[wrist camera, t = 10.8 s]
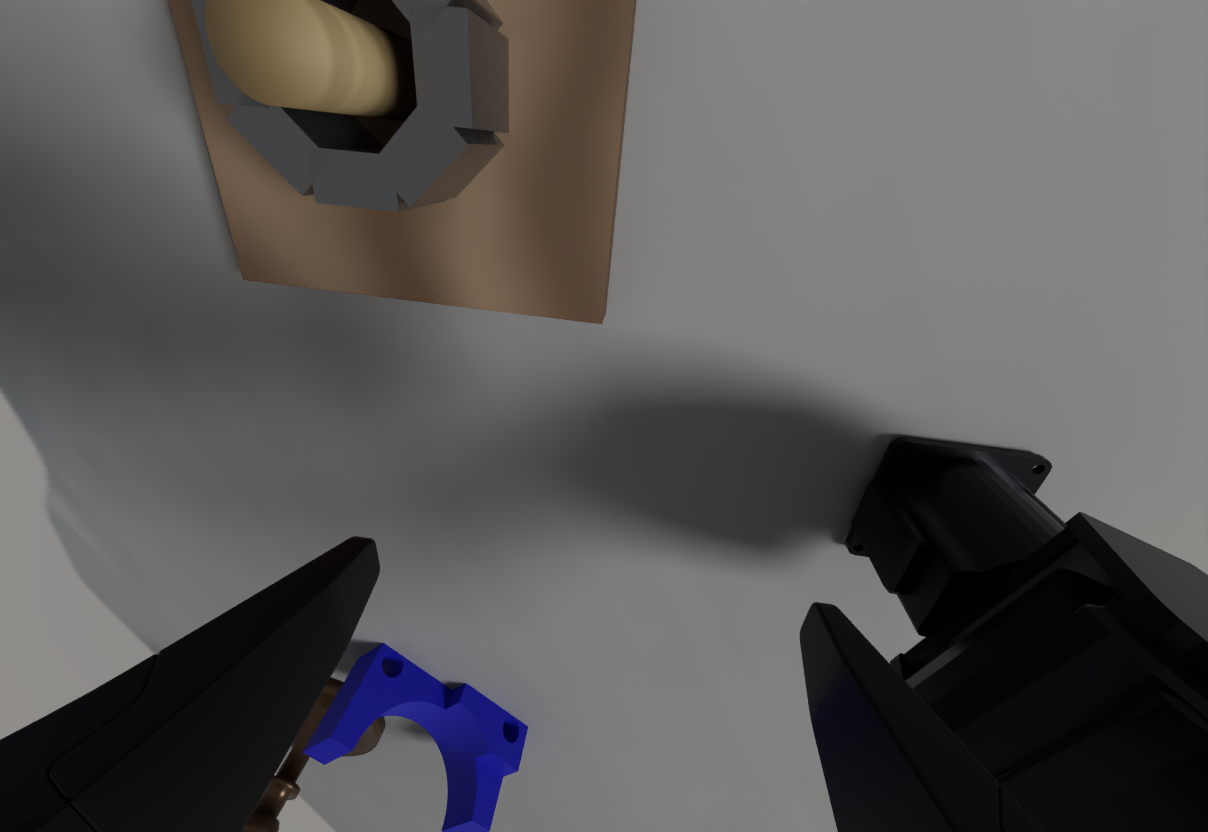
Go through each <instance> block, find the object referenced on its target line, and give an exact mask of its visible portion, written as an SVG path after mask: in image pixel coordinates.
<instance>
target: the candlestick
mask: <svg viewBox="0 0 1208 832" xmlns="http://www.w3.org/2000/svg"><path fill="white" fill-rule="evenodd" d="M342 685H343V682H341V681H338V680H335V679H333V678H329V680H328V682H327V684H326V685H325V687H324V689H323V691H322V692H321V694H320V696H319V697H318V699H317V701H316V703H315V704H314V706H313V708H312V710H311V711H310V713H309V715H308V717H307V718H306V720H305V722H304V724H303V725H302V727H301V729H300V731H299V732H298V734H297V736H296V738H295V739H294V741H293V743H292V750H291V751H290V753H289V755H288V756H287V758H286V760H285V761H284V763H283V764H282V766H281V768H280V769H279V771H278V773H277V774H276V776H275V775H274V776H273V778H272V780H271V781H270V783H269V785H268V787H267V788H266V790H265V792H264V794H263V795H262V797H261V799H260V801H259V802H258V804H257V806H256V808H255V809H254V811H253V813H252V814H251V816H250V818H249V820H248V821H247V823H246V825H245V827H244V828H243V830H242V832H278V830H279V821H278V820H277V819H276V818H277V816H278V815H279V813H280V811H281V810H282V808H283V806H284V804H285V802H286V801H287V800H293V799H295V798H296V797H297V795H298V794H299V792H300V788H299V786H298V785H297V784H296V783H295V782H296V781H297V779H298V777H299V775H300V774H301V772H302V770H303V768H304V767H305V765H306V763H307V761H308V760H309V758H310V756H308V755H306V754H305V753H303V751H304V749H305V747H306V746H307V744H308V742H309V741H310V739H311V737H312V736H313V734H314V732H315V731H316V729H317V727H318V726H319V724H320V722H321V720H322V719H323V717H324V715H325V714H326V712H327V710H328V709H329V707H330V705H331V704H332V702H333V700H334V698H335V697H336V695H337V693H338V692H339V690H340V688H341V687H342ZM384 729H385V720H384V716H382V717H378V718H377V719H376V720H375V721H374V722H373V723H372V724H371V725H370V726H369V727H368V728H367V730H366V731H365V732H364V733H363V735H362V736H361V738H360V739H359V741H358V742H357V744H356V746H355V747H354V749H353V751H351V752H349V753H347V754H345V755H343V756H357V755H362V754H365V753H367V752H369V751H371V750H372V749H374V748H375V747H376V745H377V743H378V742H379V740H380V737H381V735H382V733H383V731H384Z"/></svg>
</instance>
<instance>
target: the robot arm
mask: <svg viewBox="0 0 1208 832" xmlns="http://www.w3.org/2000/svg"><path fill="white" fill-rule="evenodd" d="M903 447H907V448H906V449H905V450H904V451H902V452H898V451H899V450H900V449H901V448H903ZM1036 465H1037V466H1036ZM1034 466H1036V467H1035V468H1033V467H1034ZM1032 468H1033V469H1032ZM1051 468H1052V465H1051V463H1050V462H1049V461H1048V460H1047V459H1046V458H1044V457H1043V456H1041V455H1038V454H1031V453H1023V452H1015V451H1008V450H1000V449H992V448H984V447H977V446H969V445H961V444H954V443H946V442H938V441H930V440H923V439H915V438H907V437H900V438H897V439H895V440H893V441H892V442H891V443H890V445H889V446H888V448H887V451H886V453H885V455H884V457H883V459H882V462H881V464H880V466H879V468H878V470H877V473H876V475H875V477H874V479H873V480H872V481H871V482H870V483H869V485H868V487H867V489H866V491H865V493H864V496H863V498H862V500H861V502H860V504H859V507H858V509H857V511H856V513H855V515H854V518H853V520H852V527H851V530H850V532H849V534H848V536H847V538H846V541H845V544H846V547H847V549H848V551H849V552H850V553H851V554H853V555H858V556H865V557H869V558H870V560H871V562H872V564H873V566H874V568H875V570H876V572H877V574H878V576H879V578H880V580H881V582H882V584H883V585H884V587H885V588H886V590H887V591H888V592H889V593H893V594H897V596H898V598H899V599H900V601H901V603H902V605H903V607H904V609H905V611H906V612H907V614H908V616H909V618H910V620H911V622H912V624H913V625H914V627H915V629H916V631H917V633H918V634H919V635H921V636H925V638H924V639H923V640H921V641H920V642H919V643H917V644H916V645H915V646H914V647H912V648H911V649H910V650H909V651H907V652H906V653H905V654H902V653H900V654H899V655H897V656H896V657H895V658H894V659H892V660H891V661H890V664H889V663H888V662H887V661H886V659H885V658H884V657H883V656H882V655H881V654H880V653H879V652H878V651H877V650H876V649H875V647H874V646H873V645H872V644H871V643H870V642H869V641H868V640H867V639H866V638H865V637H864V636H863V634H862V633H861V632H860V631H859V630H858V629H857V628H856V627H855V626H854V625H853V624H852V623H851V621H850V620H849V619H848V618H847V617H846V616H845V615H844V614H843V613H842V612H841V611H840V609H839V608H837V607H836V606H835V605H832V604H825V603H818V602H815V603H813V604H812V605H811V607H810V609H809V611H808V613H807V615H806V618H805V620H804V622H803V624H802V627H801V630H800V645H801V652H802V660H803V667H804V675H805V682H806V689H807V697H808V704H809V711H810V717H811V722H812V727H813V731H814V736H815V740H816V744H817V748H818V752H819V756H820V760H821V765H822V769H823V773H824V777H825V781H826V785H827V789H828V793H829V798H830V802H831V806H832V810H833V814H834V818H835V822H836V826H837V831H838V832H1208V575H1207V574H1205V573H1204V572H1203V571H1201V570H1200V569H1198V568H1197V567H1195V566H1194V565H1192V564H1190V563H1188V562H1186V561H1184V560H1182V559H1180V558H1178V557H1176V556H1173V555H1171V554H1169V553H1167V552H1165V551H1163V550H1161V549H1159V548H1156V547H1154V546H1152V545H1150V544H1148V543H1146V542H1144V541H1142V540H1140V539H1137V538H1135V537H1133V536H1131V535H1129V534H1127V533H1125V532H1123V531H1120V530H1118V529H1116V528H1114V527H1112V526H1110V525H1108V524H1106V523H1103V522H1101V521H1099V520H1097V519H1095V518H1093V517H1091V516H1089V515H1087V514H1084V513H1082V512H1079V513H1077V514H1076V515H1075V516H1074V517H1072V518H1071V519H1070V520H1069V521H1067V522H1066V523H1064V522H1063V521H1062V520H1061V519H1060V518H1059V517H1058V516H1057V515H1056V514H1055V513H1053V512H1052V511H1051V510H1050V509H1049V508H1048V507H1047V506H1046V505H1045V504H1044V503H1043V502H1041V501H1040V500H1039V499H1038V498H1037V497H1036V496H1035V493H1036V492H1037V490H1038V489H1039V487H1040V486H1041V484H1042V483H1043V481H1044V480H1045V478H1046V477H1047V475H1048V474H1049V472H1050V471H1051ZM856 544H859V545H856ZM855 545H856V546H855ZM379 572H380V564H379V559H378V553H377V548H376V543H375V541H374V540H373V539H371V538H365V537H358V536H354V537H351V538H349V539H347V540H346V541H344V542H342V543H341V544H339V545H337V546H336V547H334V548H332V549H331V550H329V551H327V552H326V553H324V554H322V555H320V556H319V557H317V558H315V559H314V560H312V561H310V562H309V563H307V564H305V565H304V566H302V567H300V568H299V569H297V570H295V571H294V572H292V573H290V574H289V575H287V576H285V577H284V578H282V579H280V580H279V581H277V582H275V583H273V584H272V585H270V586H268V587H267V588H265V589H263V590H262V591H260V592H258V593H257V594H255V595H253V596H252V597H250V598H248V599H247V600H245V601H243V602H242V603H240V604H238V605H237V606H235V607H233V608H232V609H230V610H228V611H226V612H225V613H223V614H221V615H220V616H218V617H216V618H215V619H213V620H211V621H210V622H208V623H206V624H205V625H203V626H201V627H200V628H198V629H196V630H195V631H193V632H191V633H190V634H188V635H186V636H185V637H183V638H181V639H179V640H178V641H176V642H174V643H173V644H171V645H169V646H168V647H166V648H164V649H163V650H161V651H160V652H159V654H154V655H152V656H151V657H149V658H147V659H146V660H144V661H142V662H141V663H139V664H137V665H136V666H134V667H132V668H131V669H129V670H127V671H125V672H124V673H122V674H120V675H118V676H117V677H115V678H113V679H112V680H110V681H108V682H106V683H105V684H103V685H101V686H100V687H98V688H96V689H94V690H93V691H91V692H89V693H87V694H85V695H84V696H82V697H80V698H78V699H76V700H74V701H73V702H70V703H69V704H67V705H65V706H63V707H61V708H59V709H58V710H56V711H54V712H52V713H50V714H49V715H47V716H45V717H43V718H41V719H39V720H37V721H35V722H33V723H31V724H30V725H28V726H26V727H24V728H22V729H20V730H18V731H16V732H14V733H12V734H10V735H9V736H7V737H5V738H3V739H1V740H0V832H242V830H243V828H244V827H245V825H246V823H247V821H248V820H249V818H250V816H251V814H252V813H253V811H254V809H255V808H256V806H257V804H258V802H259V801H260V799H261V797H262V795H263V794H264V792H265V790H266V788H267V787H268V785H269V783H270V781H271V780H272V778H273V776H274V774H275V773H276V771H277V769H278V767H279V766H280V764H281V762H282V760H283V759H284V757H285V755H286V753H287V752H288V750H289V748H290V746H291V745H292V743H293V741H294V739H295V738H296V736H297V734H298V732H299V731H300V729H301V727H302V725H303V724H304V722H305V720H306V718H307V717H308V715H309V713H310V711H311V710H312V708H313V706H314V704H315V703H316V701H317V699H318V697H319V696H320V694H321V692H322V691H323V689H324V687H325V685H326V684H327V682H328V680H329V678H330V677H331V675H332V673H333V671H334V670H335V668H336V666H337V664H338V663H339V661H340V659H341V657H342V655H343V653H344V652H345V650H346V648H347V646H348V644H349V642H350V640H351V637H352V635H353V633H354V631H355V629H356V626H357V624H358V622H359V620H360V617H361V615H362V613H363V611H364V608H365V606H366V604H367V602H368V599H369V597H370V595H371V593H372V590H373V588H374V586H375V584H376V581H377V579H378V576H379Z"/></svg>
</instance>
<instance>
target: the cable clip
mask: <svg viewBox="0 0 1208 832" xmlns="http://www.w3.org/2000/svg"><path fill="white" fill-rule="evenodd" d="M382 716H401V717H405V718H408V719H411V720H413V721H415V722H416V723H418V724H420V725H421V726H422V727H423V728H425V729H426V730H427V731H428V733H429V734H430V735H431V736H432V738H433V739H434V740H435V742H436V744H437V745H438V747H439V750H440V752H441V754H442V757H443V760H444V764H445V768H446V774H447V782H448V799H447V809H446V815H445V820H444V824H443V827H442V832H488V831H490V827H491V823H492V819H493V815H494V811H495V807H496V803H497V799H498V795H499V791H500V787H501V783H502V779H503V777H504V776H506V775H509V774H512V773H514V772H517V771H518V769H519V765H520V760H521V756H522V752H523V747H524V743H525V738H526V734H527V730H528V726H526V725H525V724H524V723H522V722H521V721H519V720H518V719H516V718H515V717H514V716H512V715H511V714H509V713H508V712H506V711H505V710H504V709H502V708H501V707H499V706H498V705H497V704H495V703H494V702H492V701H491V700H489V699H488V698H487V697H485V696H484V695H482V694H481V693H479V692H478V691H477V690H475V689H474V688H472V687H471V686H470V685H468V684H467V683H466V684H464V685H462V686H460V687H458V688H456V689H454V690H451V689H450V688H448V687H447V686H445V685H444V684H442V683H441V682H440V681H438V680H437V679H435V678H434V677H432V676H431V675H429V674H428V673H426V672H425V671H424V670H422V669H421V668H419V667H418V666H416V665H415V664H413V663H412V662H410V661H409V660H408V659H406V658H405V657H403V656H402V655H400V654H399V653H397V652H396V651H395V650H393V649H392V648H390V647H389V646H387V645H386V644H384V643H382V644H381V645H379V646H378V647H376V648H374V649H373V650H371V651H370V652H368V653H367V654H365V655H363V656H362V657H360V658H359V659H358V660H357V661H356V663H355V665H354V666H353V668H352V670H351V671H350V673H349V675H348V677H347V678H346V680H345V682H344V683H343V685H342V687H341V688H340V690H339V692H338V693H337V695H336V697H335V698H334V700H333V702H332V704H331V705H330V707H329V709H328V710H327V712H326V714H325V715H324V717H323V719H322V720H321V722H320V724H319V726H318V727H317V729H316V731H315V732H314V734H313V736H312V737H311V739H310V741H309V742H308V744H307V746H306V747H305V749H304V751H303V753H305V754H306V755H308V756H310V757H312V758H313V759H315V760H317V761H319V762H320V763H322V764H324V765H325V764H327V763H329V762H331V761H333V760H335V759H337V758H339V757H341V756H343V755H345V754H347V753H349V752H351V751H353V749H354V747H355V746H356V744H357V742H358V741H359V739H360V738H361V736H362V735H363V733H364V732H365V731H366V730H367V728H368V727H369V726H370V725H371V724H372V723H373V722H374V721H375V720H376V719H377V718H378V717H382Z"/></svg>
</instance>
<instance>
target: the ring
mask: <svg viewBox="0 0 1208 832" xmlns="http://www.w3.org/2000/svg"><path fill="white" fill-rule="evenodd" d="M206 1H207V0H191V2H192V6H193V10H194V13H195V17H196V21H197V25H198V29H199V33H200V37H201V41H202V45H203V49H204V53H205V56H206V60H207V64H208V68H209V72H210V76H211V80H212V84H213V88H214V92H215V96H216V99H217V103H222V104H231V105H235V107H234V109H233V110H232V112H231V114H230V115H229V117H228V118H227V120H228V121H229V122H230V123H231V124H232V125H233V126H234V127H235V128H236V129H237V130H238V131H239V132H240V133H241V134H242V135H243V136H244V137H245V138H246V139H247V140H248V141H249V142H250V143H251V144H252V145H253V146H254V147H255V149H256V150H257V151H258V152H259V153H260V154H261V155H262V156H263V157H264V158H265V159H266V160H267V161H268V162H269V163H270V164H271V165H272V166H273V167H274V168H275V169H276V170H277V171H278V172H279V173H280V174H281V175H282V176H283V177H284V178H285V179H286V180H287V181H288V182H289V183H290V184H291V185H292V186H293V187H294V188H295V189H296V190H297V191H298V192H299V193H300V194H301V195H302V196H307V195H314V196H315V201H316V203H319V204H329V205H338V206H347V207H356V208H365V209H375V210H384V211H393V212H401V211H406V210H410V209H414V208H418V207H423V206H427V205H431V204H435V203H440V202H444V201H447V199H451V198H455V197H457V196H458V195H459V194H460V193H461V192H462V191H463V190H464V189H465V188H466V186H467V185H468V184H469V183H470V182H471V181H472V180H473V179H474V178H475V177H476V176H477V175H478V174H479V173H480V171H481V170H482V169H483V168H484V167H485V166H486V165H487V164H488V163H489V162H490V161H491V160H492V159H493V157H494V156H495V155H496V154H497V153H498V152H499V151H500V150H501V149H502V148H503V147H504V146H505V145H504V144H503V143H502V141H501V140H500V139H499V138H498V136H497V135H496V134H495V133H494V132H504V133H509V40H508V38H507V37H505V36H504V35H503V34H501V33H500V32H499V31H497V30H498V29H499V28H500V27H501V25H502V24H503V22H502V21H501V19H500V18H499V17H498V15H497V14H496V12H495V11H494V10H493V8H492V7H491V6H490V4H489V3H488V2H487V0H392V1H393V2H394V4H395V5H396V6H397V7H398V9H399V10H400V11H401V12H402V14H403V15H404V16H405V17H406V19H407V20H408V21H409V22H410V27H411V38H412V50H413V62H414V73H415V85H416V97H417V107H416V108H415V110H414V111H413V112H412V113H411V115H410V116H409V117H408V118H407V120H406V121H405V122H404V123H403V125H402V126H401V127H400V128H399V130H398V131H397V132H396V133H395V134H394V136H393V137H392V138H391V139H390V141H389V142H388V143H387V144H386V146H385V147H384V148H383V147H382V146H381V145H380V144H379V143H378V141H377V140H376V139H375V138H374V137H373V136H372V135H371V134H370V133H369V131H368V130H367V129H366V128H365V127H364V126H363V125H362V124H361V122H360V121H359V120H358V119H357V118H356V117H355V116H354V115H347V114H338V113H330V112H321V111H313V110H304V109H296V108H287V107H279V106H271V105H266V104H263V103H260V102H258V101H256V100H254V99H252V98H250V97H249V96H247V95H246V94H244V93H243V92H242V91H241V90H239V89H238V88H237V87H236V86H235V85H234V84H233V83H232V81H231V80H230V79H229V78H228V77H227V75H226V74H225V73H224V71H223V70H222V68H221V67H220V65H219V63H218V62H217V60H216V57H215V55H214V53H213V51H212V48H211V46H210V43H209V39H208V36H207V31H206V24H205V7H206ZM321 1H323V2H325V3H328V4H330V5H332V6H334V7H337V8H339V9H341V10H343V11H345V12H348V13H351V11H352V10H353V8H354V7H355V5H356V4H357V2H358V1H359V0H321Z"/></svg>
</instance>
